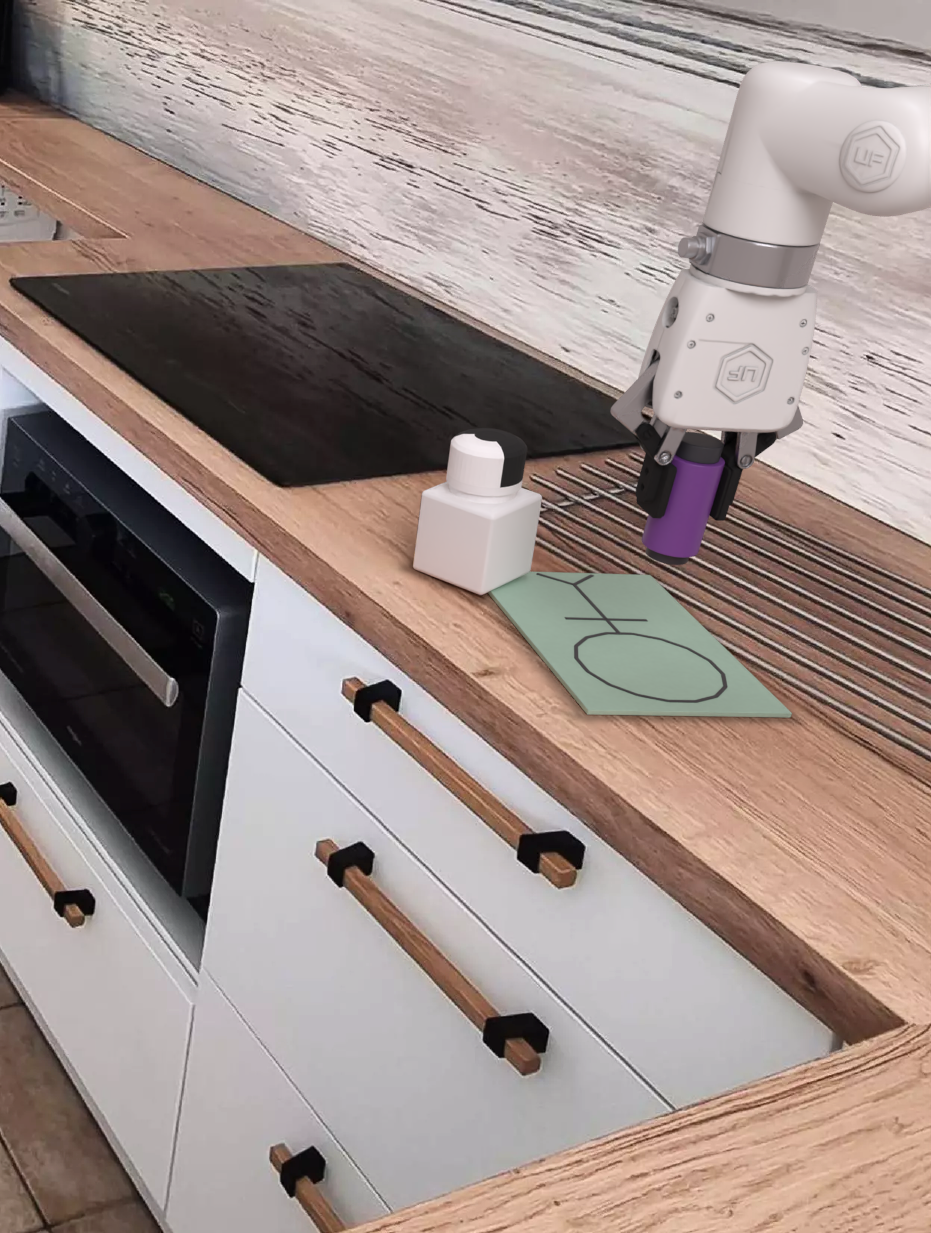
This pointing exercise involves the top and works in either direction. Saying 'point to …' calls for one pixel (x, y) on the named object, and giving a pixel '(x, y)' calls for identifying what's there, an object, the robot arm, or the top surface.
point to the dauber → (686, 501)
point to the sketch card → (630, 647)
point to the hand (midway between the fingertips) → (680, 509)
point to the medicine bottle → (479, 514)
